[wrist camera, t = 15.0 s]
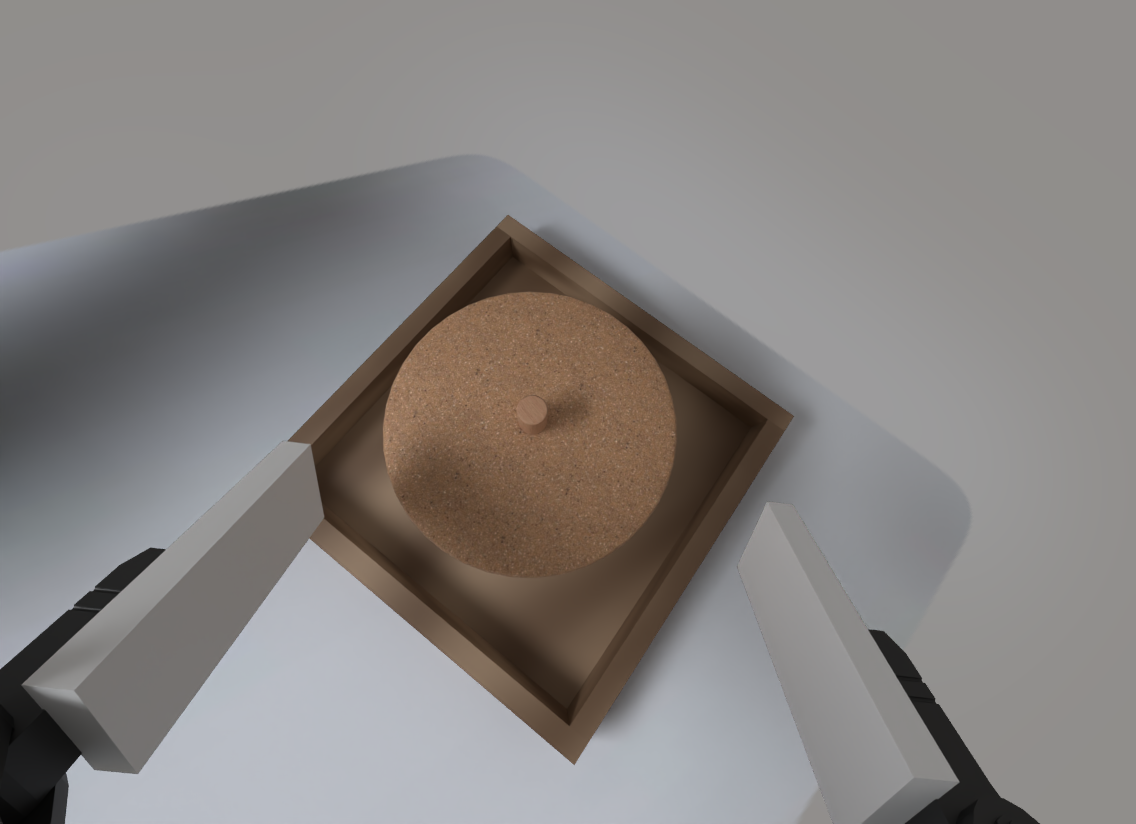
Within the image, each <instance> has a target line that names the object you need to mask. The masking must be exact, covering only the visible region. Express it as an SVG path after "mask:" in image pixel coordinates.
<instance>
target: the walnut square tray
mask: <svg viewBox="0 0 1136 824" xmlns="http://www.w3.org/2000/svg"><path fill="white" fill-rule="evenodd" d="M519 292H543V293H553V294H558V295H563V296H568V297H572V298H575V299H578V300H581V301H583V302H586V303H589V304H592V305H593V306H595V307H597V308H599V309H601V310H603V311H605V312H607V313H609V314H610V315H612V316H613V317H614V318H616V319H617V320H619V321H620V322H621V323H623V324H624V325H625V326H627V327H628V328H629V329H630V330H631V331H632V332H633V333H634V334H635V335H636V336H637V337H638V338H639V339H640V340H641V341H642V342H643V343H644V345H645V346H646V347H647V349H648V350H649V351H650V353H651V354H652V355H653V357H654V358H655V360H656V362H657V363H658V365H659V367H660V369H661V371H662V373H663V374H664V376H665V379H666V381H667V384H668V387H669V390H670V393H671V395H672V399H673V404H674V410H675V415H676V428H677V444H676V452H675V459H674V465H673V468H672V471H671V475H670V478H669V482H668V485H667V487H666V489H665V491H664V493H663V495H662V497H661V499H660V501H659V503H658V505H657V507H656V508H655V510H654V511H653V513H652V514H651V515H650V517H649V518H648V520H647V521H646V523H645V524H644V525H643V526H642V527H641V528H640V529H639V530H638V531H637V532H636V533H635V534H634V535H633V536H632V537H631V538H630V539H629V540H628V541H627V542H626V543H625V544H623V545H622V546H621V547H619V548H618V549H617V550H615V551H614V552H612V553H611V554H610V555H608V556H607V557H605V558H603V559H601V560H599V561H597V562H595V563H593V564H591V565H589V566H587V567H584V568H581V569H578V570H575V571H572V572H568V573H565V574H562V575H555V576H548V577H541V578H521V577H508V576H503V575H498V574H493V573H488V572H485V571H482V570H480V569H477V568H475V567H472V566H469V565H467V564H464V563H462V562H461V561H459V560H457V559H456V558H454V557H452V556H450V555H449V554H447V553H445V552H444V551H442V550H441V549H440V548H439V547H437V546H436V545H435V544H434V543H433V542H431V541H430V540H429V539H428V538H427V537H426V536H424V535H423V533H422V532H421V531H420V530H419V529H418V527H417V526H416V525H415V524H414V523H413V522H412V520H411V519H410V518H409V517H408V515H407V514H406V512H405V510H404V508H403V507H402V505H401V503H400V502H399V500H398V498H397V496H396V494H395V491H394V489H393V486H392V483H391V481H390V478H389V475H388V472H387V467H386V462H385V456H384V451H383V423H384V416H385V409H386V404H387V400H388V397H389V394H390V391H391V388H392V384H393V382H394V380H395V378H396V376H397V374H398V372H399V370H400V368H401V366H402V364H403V362H404V361H405V360H406V358H407V357H408V355H409V354H410V353H411V351H412V350H413V348H414V347H415V345H416V344H417V343H418V342H419V341H420V340H421V339H422V338H423V337H424V336H425V335H426V334H427V333H428V332H429V331H430V330H431V329H432V328H433V327H435V326H436V325H437V324H439V323H440V322H441V321H443V320H444V319H445V318H447V317H448V316H450V315H451V314H453V313H455V312H457V311H459V310H460V309H462V308H464V307H466V306H468V305H470V304H473V303H476V302H478V301H481V300H484V299H486V298H490V297H494V296H499V295H503V294H508V293H519ZM793 417H794V416H793V415H792V414H790V413H789V412H787V411H786V410H784V409H783V408H782V407H780V406H779V405H777V404H776V403H775V402H773V401H772V400H770V399H769V398H767V397H766V396H765V395H763V394H762V393H760V392H759V391H757V390H756V389H755V388H753V387H752V386H750V385H749V384H748V383H746V382H745V381H743V380H742V379H740V378H739V377H738V376H736V375H735V374H733V373H732V372H731V371H729V370H728V369H726V368H725V367H723V366H722V365H721V364H719V363H718V362H716V361H715V360H713V359H712V358H711V357H709V356H708V355H706V354H705V353H704V352H702V351H701V350H699V349H698V348H696V347H695V346H694V345H692V344H691V343H689V342H688V341H687V340H685V339H684V338H682V337H681V336H679V335H678V334H677V333H675V332H674V331H672V330H671V329H669V328H668V327H667V326H665V325H664V324H662V323H661V322H660V321H658V320H657V319H655V318H654V317H652V316H651V315H650V314H648V313H647V312H645V311H644V310H643V309H641V308H640V307H638V306H637V305H635V304H634V303H633V302H631V301H630V300H628V299H627V298H625V297H624V296H623V295H621V294H620V293H618V292H617V291H616V290H614V289H613V288H611V287H610V286H608V285H607V284H606V283H604V282H603V281H601V280H600V279H599V278H597V277H596V276H594V275H593V274H591V273H590V272H589V271H587V270H586V269H584V268H583V267H581V266H580V265H579V264H577V263H576V262H574V261H573V260H572V259H570V258H569V257H567V256H566V255H564V254H563V253H562V252H560V251H559V250H557V249H556V248H555V247H553V246H552V245H550V244H549V243H547V242H546V241H545V240H543V239H542V238H540V237H539V236H537V235H536V234H535V233H533V232H532V231H530V230H529V229H528V228H526V227H525V226H523V225H522V224H520V223H519V222H518V221H516V220H515V219H513V218H512V217H511V216H509V215H507V216H506V217H505V218H504V219H503V220H502V222H501V223H500V224H499V225H498V226H497V227H496V228H495V229H494V230H493V231H492V232H491V233H490V234H489V235H488V236H487V237H486V238H485V239H484V240H483V241H482V242H481V243H480V244H479V245H478V246H477V247H476V248H475V249H474V250H473V251H472V252H471V253H470V254H469V255H468V256H467V257H466V258H465V259H464V260H463V262H462V263H461V264H460V265H459V266H458V267H457V268H456V269H455V270H454V271H453V272H452V273H451V274H450V275H449V276H448V277H447V278H446V279H445V280H444V281H443V282H442V283H441V284H440V285H439V286H438V287H437V288H436V289H435V290H434V291H433V292H432V293H431V294H430V295H429V296H428V297H427V298H426V299H425V300H424V302H423V303H422V304H421V305H420V306H419V307H418V308H417V309H416V310H415V311H414V312H413V313H412V314H411V315H410V316H409V317H408V318H407V319H406V320H405V321H404V322H403V323H402V324H401V325H400V326H399V327H398V328H397V329H396V330H395V331H394V332H393V333H392V334H391V335H390V336H389V337H388V338H387V339H386V341H385V342H384V343H383V344H382V345H381V346H380V347H379V348H378V349H377V350H376V351H375V352H374V353H373V354H372V355H371V356H370V357H369V358H368V359H367V360H366V361H365V362H364V363H363V364H362V365H361V366H360V367H359V368H358V369H357V370H356V371H355V372H354V373H353V374H352V375H351V376H350V377H349V378H348V379H347V381H346V382H345V383H344V384H343V385H342V386H341V387H340V388H339V389H338V390H337V391H336V392H335V393H334V394H333V395H332V396H331V397H330V398H329V399H328V400H327V401H326V402H325V403H324V404H323V405H322V406H321V407H320V408H319V409H318V410H317V411H316V412H315V413H314V414H313V415H312V416H311V417H310V418H309V419H308V421H307V422H306V423H305V424H304V425H303V426H302V427H301V428H300V429H299V430H298V431H297V432H296V433H295V434H294V435H293V436H292V437H291V438H290V439H289V440H288V442H296V443H304V444H311V450H312V455H313V460H314V465H315V471H316V476H317V481H318V486H319V492H320V497H321V502H322V507H323V513H324V519H323V520H322V521H321V523H320V524H319V525H318V527H317V528H316V530H315V531H314V532H313V534H312V535H311V536H310V539H311V540H312V541H313V542H314V543H316V544H317V545H318V546H319V547H320V548H321V549H323V550H324V551H325V552H326V553H327V554H328V555H330V556H331V557H332V558H333V559H334V560H335V561H337V562H338V563H339V564H340V565H341V566H342V567H344V568H345V569H346V570H347V571H348V572H349V573H351V574H352V575H353V576H354V577H355V578H356V579H358V580H359V581H360V582H361V583H362V584H363V585H365V586H366V587H367V588H368V589H369V590H370V591H372V592H373V593H374V594H375V595H376V596H377V597H379V598H380V599H381V600H382V601H383V602H384V603H386V604H387V605H388V606H389V607H390V608H392V609H393V610H394V611H395V612H396V613H397V614H399V615H400V616H401V617H402V618H403V619H404V620H406V621H407V622H408V623H409V624H410V625H411V626H413V627H414V628H415V629H416V630H417V631H418V632H420V633H421V634H422V635H423V636H424V637H425V638H427V639H428V640H429V641H430V642H431V643H432V644H434V645H435V646H436V647H437V648H438V649H439V650H441V651H442V652H443V653H444V654H445V655H446V656H448V657H449V658H450V659H451V660H452V661H453V662H455V663H456V664H457V665H458V666H459V667H460V668H462V669H463V670H464V671H465V672H466V673H467V674H469V675H470V676H471V677H472V678H473V679H474V680H476V681H477V682H478V683H479V684H480V685H481V686H483V687H484V688H485V689H486V690H487V691H488V692H490V693H491V694H492V695H493V696H494V697H495V698H497V699H498V700H499V701H500V702H501V703H502V704H504V705H505V706H506V707H507V708H508V709H509V710H511V711H512V712H513V713H514V714H515V715H516V716H518V717H519V718H520V719H521V720H522V721H524V722H525V723H526V724H527V725H528V726H529V727H531V728H532V729H533V730H534V731H535V732H536V733H538V734H539V735H540V736H541V737H542V738H543V739H545V740H546V741H547V742H548V743H549V744H550V745H552V746H553V747H554V748H555V749H556V750H557V751H559V752H560V753H561V754H562V755H563V756H564V757H566V758H567V759H568V760H569V761H570V762H571V763H573V764H574V765H575V763H576V761H577V760H578V758H579V757H580V755H581V753H582V752H583V750H584V749H585V747H586V745H587V744H588V742H589V741H590V739H591V738H592V736H593V734H594V733H595V731H596V730H597V728H598V726H599V725H600V723H601V722H602V720H603V719H604V717H605V715H606V714H607V712H608V711H609V709H610V707H611V706H612V704H613V703H614V701H615V699H616V698H617V696H618V695H619V693H620V692H621V690H622V688H623V687H624V685H625V684H626V682H627V680H628V679H629V677H630V676H631V674H632V672H633V671H634V669H635V668H636V666H637V665H638V663H639V661H640V660H641V658H642V657H643V655H644V653H645V652H646V650H647V649H648V647H649V645H650V644H651V642H652V641H653V639H654V638H655V636H656V634H657V633H658V631H659V630H660V628H661V626H662V625H663V623H664V622H665V620H666V619H667V617H668V615H669V614H670V612H671V611H672V609H673V607H674V606H675V604H676V603H677V601H678V599H679V598H680V596H681V595H682V593H683V592H684V590H685V588H686V587H687V585H688V584H689V582H690V580H691V579H692V577H693V576H694V574H695V572H696V571H697V569H698V568H699V566H700V565H701V563H702V561H703V560H704V558H705V557H706V555H707V553H708V552H709V550H710V549H711V547H712V545H713V544H714V542H715V541H716V539H717V538H718V536H719V534H720V533H721V531H722V530H723V528H724V526H725V525H726V523H727V522H728V520H729V519H730V517H731V515H732V514H733V512H734V511H735V509H736V507H737V506H738V504H739V503H740V501H741V499H742V498H743V496H744V495H745V493H746V492H747V490H748V488H749V487H750V485H751V484H752V482H753V480H754V479H755V477H756V476H757V474H758V472H759V471H760V469H761V468H762V466H763V465H764V463H765V461H766V460H767V458H768V457H769V455H770V453H771V452H772V450H773V449H774V447H775V445H776V444H777V442H778V441H779V439H780V438H781V436H782V434H783V433H784V431H785V430H786V428H787V426H788V425H789V423H790V422H791V420H792V419H793Z"/></svg>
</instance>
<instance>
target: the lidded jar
mask: <svg viewBox="0 0 1136 824" xmlns="http://www.w3.org/2000/svg"><path fill="white" fill-rule="evenodd" d="M676 444H677V428H676V415H675V410H674V404H673V399H672V395H671V393H670V390H669V387H668V384H667V381H666V379H665V376H664V374H663V373H662V371H661V369H660V367H659V365H658V363H657V362H656V360H655V358H654V357H653V355H652V354H651V353H650V351H649V350H648V349H647V347H646V346H645V345H644V343H643V342H642V341H641V340H640V339H639V338H638V337H637V336H636V335H635V334H634V333H633V332H632V331H631V330H630V329H629V328H628V327H627V326H625V325H624V324H623V323H621V322H620V321H619V320H617V319H616V318H614V317H613V316H612V315H610V314H609V313H607V312H605V311H603V310H601V309H599V308H597V307H595V306H593V305H592V304H589V303H586V302H583V301H581V300H578V299H575V298H572V297H568V296H563V295H558V294H553V293H543V292H519V293H508V294H503V295H499V296H494V297H490V298H486V299H484V300H481V301H478V302H476V303H473V304H470V305H468V306H466V307H464V308H462V309H460V310H459V311H457V312H455V313H453V314H451V315H450V316H448V317H447V318H445V319H444V320H443V321H441V322H440V323H439V324H437V325H436V326H435V327H433V328H432V329H431V330H430V331H429V332H428V333H427V334H426V335H425V336H424V337H423V338H422V339H421V340H420V341H419V342H418V343H417V344H416V345H415V347H414V348H413V350H412V351H411V353H410V354H409V355H408V357H407V358H406V360H405V361H404V362H403V364H402V366H401V368H400V370H399V372H398V374H397V376H396V378H395V380H394V382H393V384H392V388H391V391H390V394H389V397H388V400H387V404H386V409H385V416H384V423H383V451H384V456H385V462H386V467H387V472H388V475H389V478H390V481H391V483H392V486H393V489H394V491H395V494H396V496H397V498H398V500H399V502H400V503H401V505H402V507H403V508H404V510H405V512H406V514H407V515H408V517H409V518H410V519H411V520H412V522H413V523H414V524H415V525H416V526H417V527H418V529H419V530H420V531H421V532H422V533H423V535H424V536H426V537H427V538H428V539H429V540H430V541H431V542H433V543H434V544H435V545H436V546H437V547H439V548H440V549H441V550H442V551H444V552H445V553H447V554H449V555H450V556H452V557H454V558H456V559H457V560H459V561H461V562H462V563H464V564H467V565H469V566H472V567H475V568H477V569H480V570H482V571H485V572H488V573H493V574H498V575H503V576H508V577H521V578H541V577H548V576H555V575H562V574H565V573H568V572H572V571H575V570H578V569H581V568H584V567H587V566H589V565H591V564H593V563H595V562H597V561H599V560H601V559H603V558H605V557H607V556H608V555H610V554H611V553H612V552H614V551H615V550H617V549H618V548H619V547H621V546H622V545H623V544H625V543H626V542H627V541H628V540H629V539H630V538H631V537H632V536H633V535H634V534H635V533H636V532H637V531H638V530H639V529H640V528H641V527H642V526H643V525H644V524H645V523H646V521H647V520H648V518H649V517H650V515H651V514H652V513H653V511H654V510H655V508H656V507H657V505H658V503H659V501H660V499H661V497H662V495H663V493H664V491H665V489H666V487H667V485H668V482H669V478H670V475H671V471H672V468H673V465H674V459H675V452H676Z"/></svg>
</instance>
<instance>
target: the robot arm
mask: <svg viewBox="0 0 1136 824" xmlns="http://www.w3.org/2000/svg"><path fill="white" fill-rule="evenodd" d="M323 519H324V513H323V507H322V502H321V497H320V492H319V486H318V481H317V476H316V471H315V465H314V460H313V455H312V450H311V444H304V443H296V442H288V441H282V442H281V443H280V444H279V445H278V446H277V447H276V448H275V449H273V450H272V451H271V452H270V453H269V454H268V455H267V456H266V457H265V458H264V459H263V460H262V461H261V462H260V463H258V464H257V465H256V466H255V467H254V468H253V469H252V470H251V471H250V472H249V473H248V474H247V475H246V476H245V477H243V478H242V479H241V480H240V481H239V482H238V483H237V484H236V485H235V486H234V487H233V488H232V489H231V490H230V491H228V492H227V493H226V494H225V495H224V496H223V497H222V498H221V499H220V500H219V501H218V502H217V503H216V504H215V505H213V506H212V507H211V508H210V509H209V510H208V511H207V512H206V513H205V514H204V515H203V516H202V517H201V518H200V519H198V520H197V521H196V522H195V523H194V524H193V525H192V526H191V527H190V528H189V529H188V530H187V531H186V532H185V533H183V534H182V535H181V536H180V537H179V538H178V539H177V540H176V541H175V542H174V543H173V544H172V545H171V546H170V547H168V548H167V549H157V548H149V549H147V550H146V551H144V552H142V553H140V554H138V555H137V556H135V557H133V558H131V559H130V560H128V561H126V562H124V563H123V564H121V565H119V566H118V567H117V568H116V569H115V570H114V571H112V572H111V573H110V574H109V575H108V576H107V577H106V578H104V579H103V580H102V581H101V582H100V583H99V584H98V585H96V586H95V589H94V591H90V592H88V593H87V594H86V595H85V596H84V597H83V598H82V599H80V600H79V601H78V602H77V603H76V604H75V605H74V608H73V609H72V610H68V611H67V612H65V613H64V614H63V615H62V616H61V617H60V618H59V619H57V620H56V621H55V622H54V623H53V624H52V625H51V626H49V627H48V628H47V629H46V630H45V631H44V632H43V633H41V634H40V635H39V636H38V637H37V638H36V639H35V640H33V641H32V642H31V643H30V644H29V645H28V646H27V647H25V648H24V649H23V650H22V651H21V652H20V653H19V654H17V655H16V656H15V657H14V658H13V659H12V660H11V661H9V662H8V663H7V664H6V665H5V666H4V667H3V668H1V669H0V824H65V816H66V807H67V797H68V787H69V785H68V780H67V775H66V772H67V770H68V769H69V768H70V767H71V766H72V764H73V763H74V762H75V761H76V760H77V759H78V757H79V756H80V755H82V756H83V757H84V758H85V760H86V761H87V762H88V763H89V764H90V765H91V767H92V768H93V769H94V770H101V771H111V772H122V773H132V774H138V773H139V772H140V770H141V769H142V768H143V766H144V765H145V764H146V762H147V761H148V759H149V758H150V757H151V755H152V754H153V752H154V751H155V750H156V748H157V747H158V746H159V744H160V743H161V741H162V740H163V739H164V737H165V736H166V735H167V733H168V732H169V730H170V729H171V728H172V726H173V725H174V724H175V722H176V721H177V719H178V718H179V717H180V715H181V714H182V713H183V711H184V710H185V708H186V707H187V706H188V704H189V703H190V702H191V700H192V699H193V697H194V696H195V695H196V693H197V692H198V691H199V689H200V688H201V686H202V685H203V684H204V682H205V681H206V680H207V678H208V677H209V675H210V674H211V673H212V671H213V670H214V669H215V667H216V666H217V664H218V663H219V662H220V660H221V659H222V658H223V656H224V655H225V653H226V652H227V651H228V649H229V648H230V647H231V645H232V644H233V642H234V641H235V640H236V638H237V637H238V636H239V634H240V633H241V631H242V630H243V629H244V627H245V626H246V625H247V623H248V622H249V620H250V619H251V618H252V616H253V615H254V613H255V612H256V611H257V609H258V608H259V607H260V605H261V604H262V602H263V601H264V600H265V598H266V597H267V596H268V594H269V593H270V591H271V590H272V589H273V587H274V586H275V585H276V583H277V582H278V580H279V579H280V578H281V576H282V575H283V574H284V572H285V571H286V569H287V568H288V567H289V565H290V564H291V563H292V561H293V560H294V558H295V557H296V556H297V554H298V553H299V552H300V550H301V549H302V547H303V546H304V545H305V543H306V542H307V541H308V539H309V538H310V536H311V535H312V534H313V532H314V531H315V530H316V528H317V527H318V525H319V524H320V523H321V521H322V520H323ZM737 568H738V571H739V573H740V576H741V579H742V581H743V584H744V587H745V589H746V592H747V595H748V597H749V600H750V603H751V605H752V608H753V611H754V613H755V616H756V619H757V622H758V624H759V627H760V630H761V632H762V635H763V638H764V640H765V643H766V646H767V648H768V651H769V654H770V656H771V659H772V662H773V664H774V667H775V670H776V672H777V675H778V678H779V680H780V683H781V686H782V689H783V691H784V694H785V697H786V699H787V702H788V705H789V707H790V710H791V713H792V715H793V718H794V721H795V723H796V726H797V729H798V731H799V734H800V737H801V739H802V742H803V745H804V747H805V750H806V753H807V756H808V758H809V761H810V764H811V766H812V769H813V772H814V774H815V777H816V780H817V782H818V785H819V788H820V790H821V793H822V796H823V798H824V801H825V803H826V806H827V809H828V812H829V815H830V817H831V820H832V822H833V824H1040V823H1038V822H1037V821H1036V820H1035V819H1034V818H1032V817H1031V816H1030V815H1029V814H1028V813H1026V812H1025V811H1024V810H1023V809H1021V808H1020V807H1018V806H1016V805H1014V804H1012V803H1010V802H1009V801H1007V800H1005V799H1003V798H1001V797H1000V796H999V795H998V793H997V792H996V791H995V789H994V788H993V786H992V785H991V784H990V782H989V781H988V779H987V778H986V776H985V775H984V773H983V772H982V770H981V768H980V767H979V765H978V764H977V762H976V761H975V759H974V758H973V756H972V755H971V753H970V751H969V750H968V748H967V747H966V746H965V744H964V742H963V741H962V739H961V738H960V736H959V734H958V733H957V731H956V730H955V728H954V727H953V725H952V724H951V722H950V721H949V719H948V718H947V716H946V715H945V713H944V712H943V710H942V708H941V707H940V705H939V704H936V702H935V698H934V696H933V694H932V693H931V692H930V690H929V688H928V687H927V685H926V684H925V683H923V682H922V678H921V676H920V675H919V673H918V671H917V670H916V668H915V667H914V665H913V664H912V662H911V661H910V659H909V658H908V656H907V654H906V653H905V652H904V651H903V650H902V649H901V648H900V647H899V646H898V645H897V644H896V643H895V642H894V641H893V640H892V639H891V638H890V637H889V636H888V635H887V634H886V633H885V632H884V631H878V630H869V629H867V627H866V626H865V624H864V622H863V621H862V619H861V617H860V616H859V614H858V612H857V611H856V609H855V607H854V606H853V604H852V602H851V601H850V599H849V597H848V596H847V594H846V592H845V591H844V589H843V587H842V586H841V584H840V582H839V581H838V579H837V577H836V576H835V574H834V572H833V571H832V569H831V567H830V566H829V564H828V562H827V561H826V559H825V557H824V556H823V554H822V552H821V551H820V549H819V547H818V546H817V544H816V542H815V541H814V539H813V537H812V536H811V534H810V532H809V531H808V529H807V527H806V526H805V524H804V522H803V521H802V519H801V517H800V516H799V514H798V512H797V511H796V509H795V507H794V506H793V505H791V504H783V503H775V502H767V503H766V505H765V507H764V509H763V512H762V514H761V516H760V518H759V520H758V522H757V525H756V527H755V529H754V531H753V533H752V535H751V538H750V540H749V542H748V544H747V546H746V548H745V551H744V553H743V555H742V557H741V559H740V561H739V563H738V566H737Z"/></svg>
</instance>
